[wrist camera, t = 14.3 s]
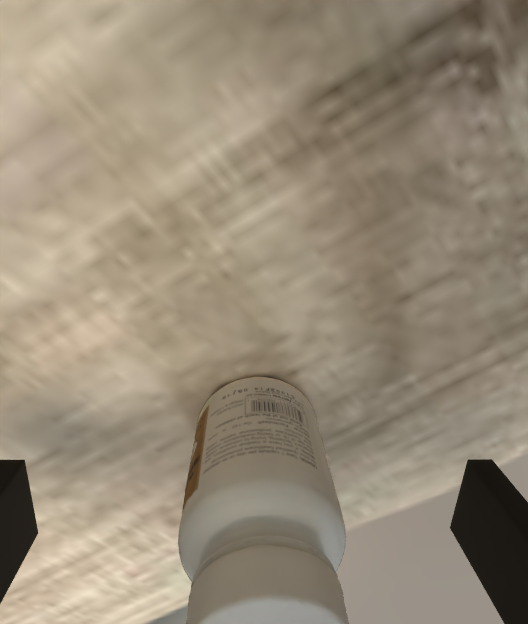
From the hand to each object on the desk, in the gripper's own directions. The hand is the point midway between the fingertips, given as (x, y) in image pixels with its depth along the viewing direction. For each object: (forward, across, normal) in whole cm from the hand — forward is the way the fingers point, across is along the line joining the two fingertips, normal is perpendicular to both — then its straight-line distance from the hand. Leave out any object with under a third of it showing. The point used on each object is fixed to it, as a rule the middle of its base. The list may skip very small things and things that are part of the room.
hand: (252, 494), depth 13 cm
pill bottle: (+3, 0, 0) cm, 3 cm away
